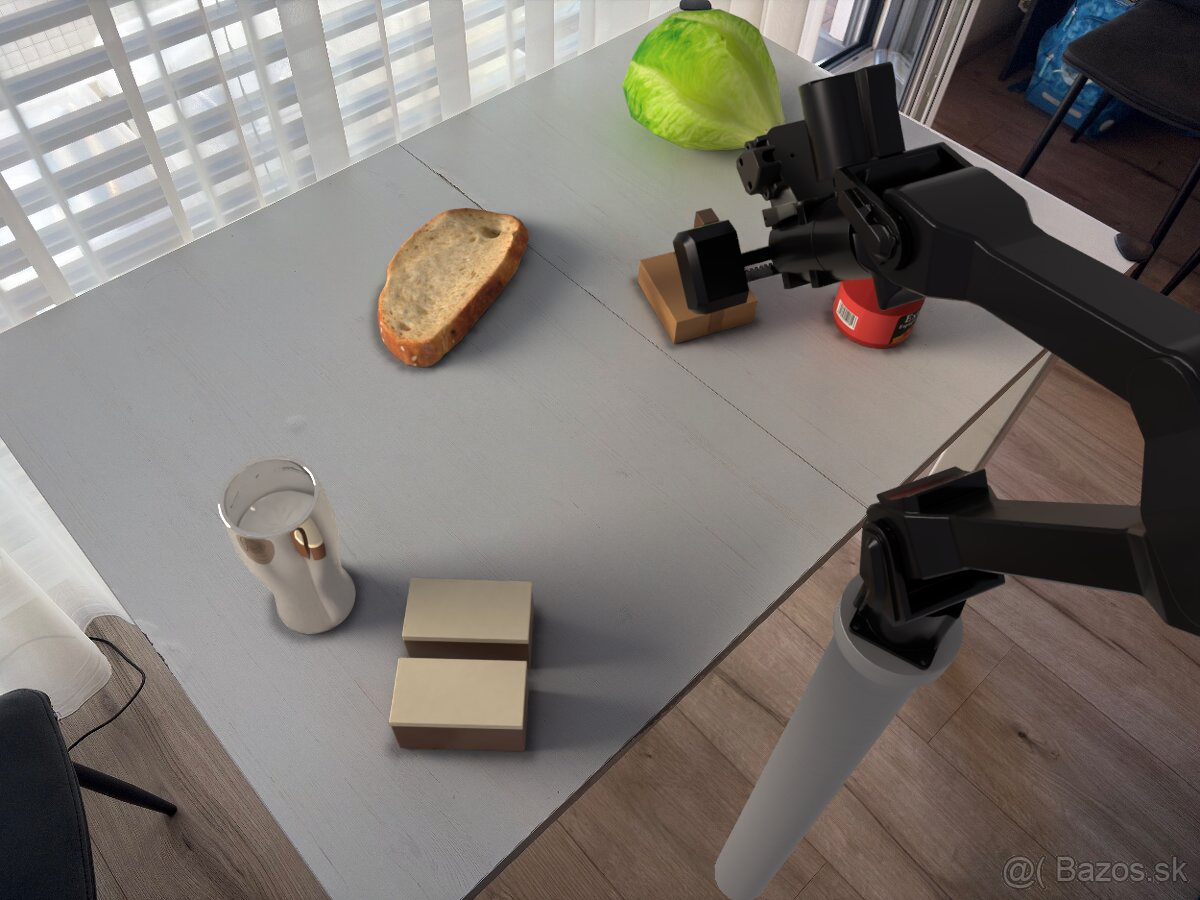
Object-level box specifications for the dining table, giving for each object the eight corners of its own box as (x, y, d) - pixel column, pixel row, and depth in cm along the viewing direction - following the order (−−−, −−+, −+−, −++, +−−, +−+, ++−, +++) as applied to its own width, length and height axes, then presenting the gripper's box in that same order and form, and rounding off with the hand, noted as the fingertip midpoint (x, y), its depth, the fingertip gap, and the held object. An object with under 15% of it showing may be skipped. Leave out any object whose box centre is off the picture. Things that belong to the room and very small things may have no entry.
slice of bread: (398, 377, 90) (392, 350, 87) (345, 253, 99) (338, 224, 96) (575, 322, 94) (576, 295, 91) (509, 209, 104) (507, 180, 101)
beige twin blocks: (533, 612, 76) (532, 581, 72) (525, 751, 70) (522, 726, 65) (419, 609, 76) (410, 577, 72) (399, 748, 69) (389, 722, 65)
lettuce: (720, 208, 105) (738, 97, 94) (591, 123, 113) (594, 13, 102) (808, 148, 111) (835, 39, 100) (680, 72, 120) (692, -37, 109)
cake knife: (714, 320, 95) (730, 234, 86) (700, 324, 95) (713, 238, 86) (689, 279, 98) (701, 193, 89) (675, 283, 98) (685, 196, 89)
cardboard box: (753, 322, 95) (758, 300, 93) (673, 344, 93) (676, 322, 91) (714, 262, 100) (717, 239, 97) (637, 282, 98) (639, 260, 95)
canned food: (903, 360, 93) (939, 276, 84) (822, 336, 94) (848, 251, 85) (917, 306, 97) (953, 221, 88) (839, 285, 98) (866, 198, 89)
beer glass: (320, 656, 73) (271, 558, 61) (252, 611, 75) (191, 507, 63) (379, 587, 77) (344, 481, 65) (313, 546, 79) (266, 436, 67)
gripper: (943, 88, 66) (826, 128, 81) (699, 147, 62) (622, 178, 77) (970, 249, 69) (851, 259, 84) (737, 317, 64) (655, 315, 79)
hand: (748, 250), depth 81 cm, fingers open, 9 cm apart
